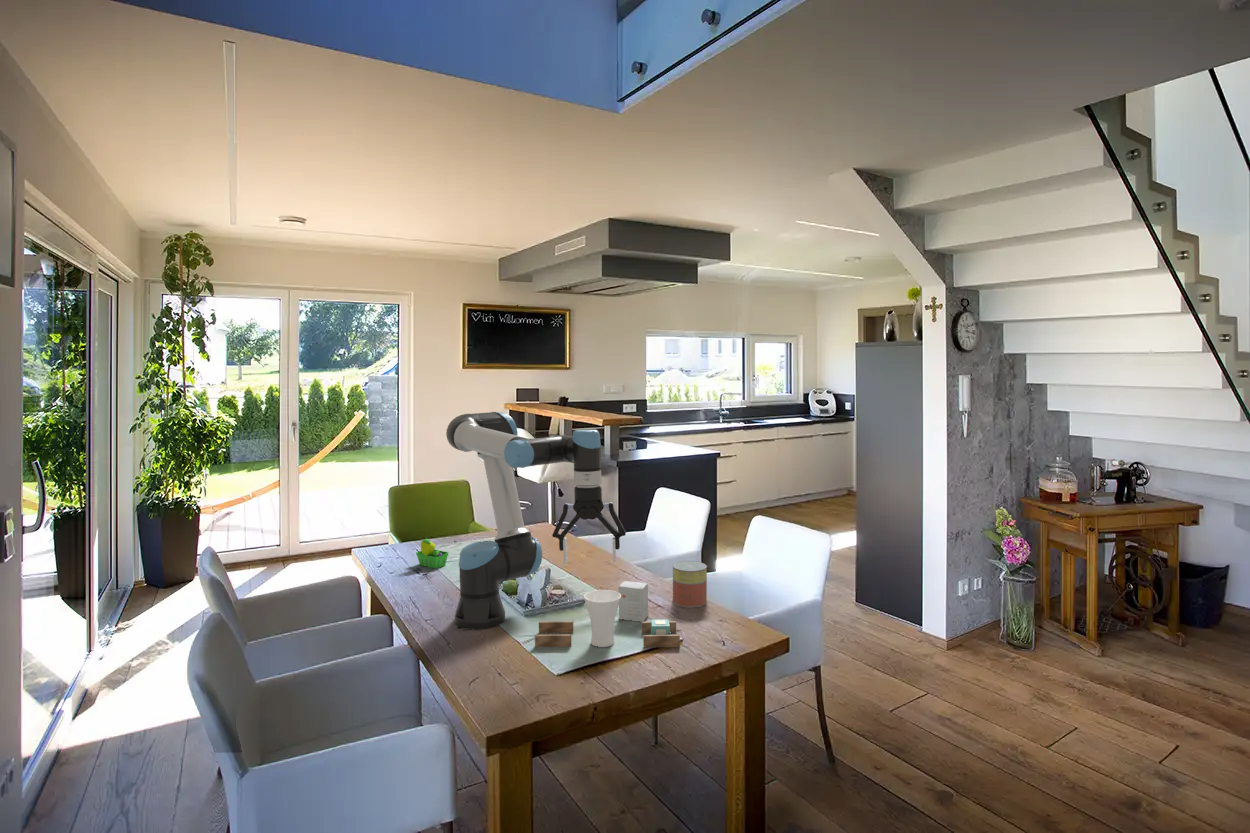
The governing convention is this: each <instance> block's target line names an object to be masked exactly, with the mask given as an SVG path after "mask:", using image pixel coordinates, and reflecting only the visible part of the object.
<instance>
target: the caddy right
mask: <svg viewBox="0 0 1250 833" xmlns="http://www.w3.org/2000/svg"><path fill="white" fill-rule="evenodd" d="M669 624H670V632H671V633H670V635H651V621H643V622H641V634H643V640H642V641H643V644H642V645H643V646H644V647H643V648H680V646H681V642H680V641H681V638H680V637H681V636H680V634H677V621H675V620H674V621H672V620H671V621H669Z"/></svg>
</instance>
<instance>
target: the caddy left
mask: <svg viewBox="0 0 1250 833" xmlns="http://www.w3.org/2000/svg"><path fill="white" fill-rule="evenodd" d="M573 633H574V621H573V620H571V621H569V620H566V621H565V620H563V621H562V620H559V621H558V620H557V621H554V620H553V621H552V620H551V621H548V620H546V621H538V634H534V647H535V648H570V647H572V634H573Z"/></svg>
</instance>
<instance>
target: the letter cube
mask: <svg viewBox="0 0 1250 833" xmlns="http://www.w3.org/2000/svg"><path fill="white" fill-rule="evenodd" d="M650 622H651V633H650V635H671V633H670V624H669V619H663V618H662V619H650Z"/></svg>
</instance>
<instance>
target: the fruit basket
mask: <svg viewBox="0 0 1250 833" xmlns="http://www.w3.org/2000/svg"><path fill="white" fill-rule="evenodd" d="M415 554H416V557H417V560H418V563H419V565H420V566H421V567H422V566H424V567H425V568H432V569H434V570H435V569H438V568H442V567H444V566H446V563H447V560H448V556H449V554H450V553H449V552H448V551H443V550H439V549H436V544H435V543H434V542H432V541H430V539H428V538H425V539H422V540H421V542H420V550H419V551H417V552H415Z"/></svg>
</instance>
